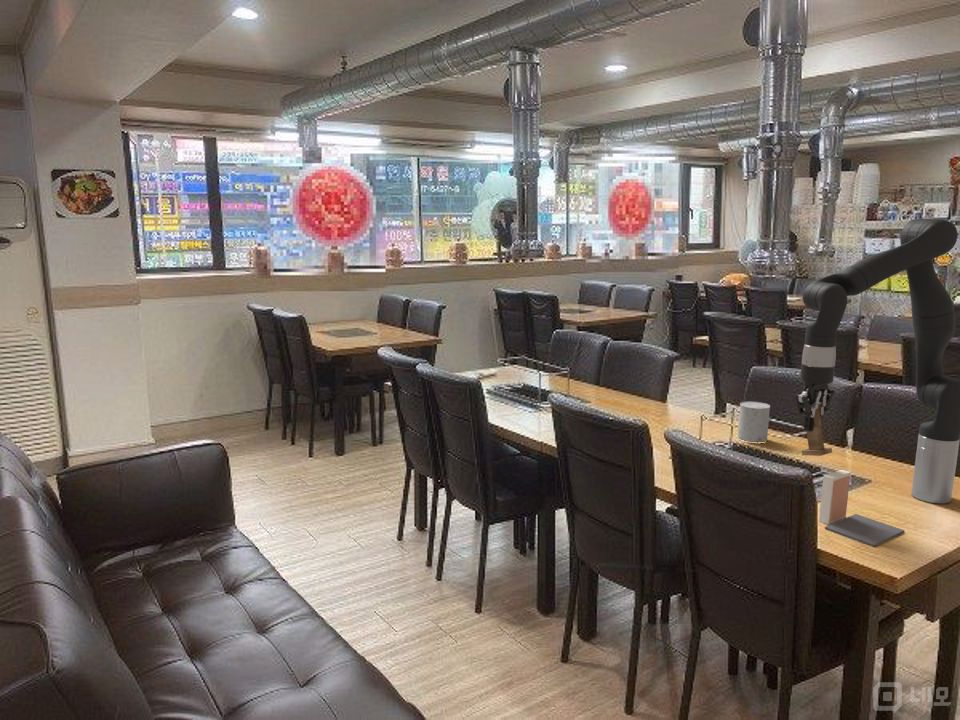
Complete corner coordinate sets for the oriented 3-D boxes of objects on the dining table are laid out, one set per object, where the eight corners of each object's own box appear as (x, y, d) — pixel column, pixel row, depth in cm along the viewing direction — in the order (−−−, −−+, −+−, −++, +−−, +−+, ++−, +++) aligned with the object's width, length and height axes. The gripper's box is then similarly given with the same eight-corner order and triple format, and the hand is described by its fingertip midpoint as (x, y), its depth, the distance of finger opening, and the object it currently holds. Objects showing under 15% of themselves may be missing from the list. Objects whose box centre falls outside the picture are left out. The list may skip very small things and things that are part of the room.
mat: (855, 515, 182) (855, 513, 181) (904, 532, 172) (904, 530, 172) (824, 528, 174) (824, 526, 174) (873, 546, 164) (874, 544, 164)
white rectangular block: (836, 514, 183) (841, 469, 180) (846, 517, 180) (851, 472, 178) (818, 521, 178) (823, 475, 176) (829, 525, 176) (834, 478, 174)
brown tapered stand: (813, 451, 184) (806, 401, 185) (832, 452, 180) (825, 400, 180) (802, 455, 182) (795, 403, 182) (821, 455, 177) (813, 403, 178)
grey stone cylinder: (737, 442, 241) (740, 407, 239) (737, 434, 250) (739, 400, 248) (767, 445, 238) (771, 409, 236) (766, 437, 247) (769, 402, 245)
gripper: (819, 357, 185) (813, 422, 188) (788, 363, 177) (781, 430, 181) (848, 362, 179) (841, 429, 182) (816, 368, 171) (809, 438, 175)
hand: (811, 429), depth 181 cm, fingers closed on brown tapered stand, 2 cm apart
